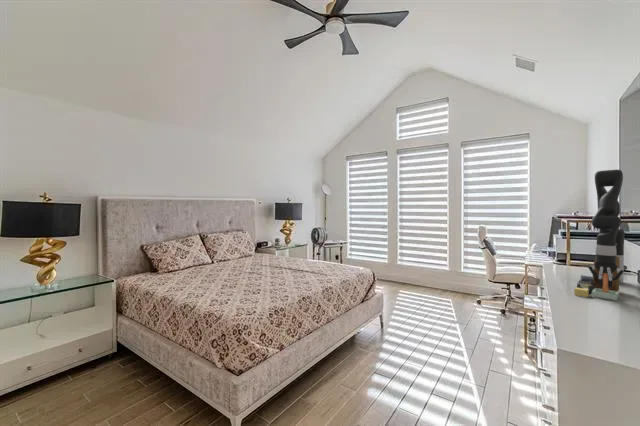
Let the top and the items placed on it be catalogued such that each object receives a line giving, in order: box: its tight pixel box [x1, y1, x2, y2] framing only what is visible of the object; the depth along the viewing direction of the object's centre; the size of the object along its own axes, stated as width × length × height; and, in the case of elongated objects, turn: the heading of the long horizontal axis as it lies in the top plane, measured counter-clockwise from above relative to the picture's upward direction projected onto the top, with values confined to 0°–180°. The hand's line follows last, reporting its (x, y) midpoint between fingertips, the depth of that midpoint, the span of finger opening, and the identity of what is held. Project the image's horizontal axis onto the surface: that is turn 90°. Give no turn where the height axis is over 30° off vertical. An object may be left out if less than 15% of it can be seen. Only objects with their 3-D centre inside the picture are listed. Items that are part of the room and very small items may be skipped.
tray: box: [591, 288, 620, 302], centre depth 147 cm, size 9×9×3 cm
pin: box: [602, 273, 609, 293], centre depth 147 cm, size 2×2×10 cm
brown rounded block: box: [592, 256, 621, 292], centre depth 158 cm, size 11×8×20 cm
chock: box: [573, 286, 590, 298], centre depth 150 cm, size 4×5×4 cm
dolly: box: [576, 274, 594, 294], centre depth 157 cm, size 9×6×8 cm, turn 128°
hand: (605, 286), depth 147 cm, fingers closed on pin, 2 cm apart
